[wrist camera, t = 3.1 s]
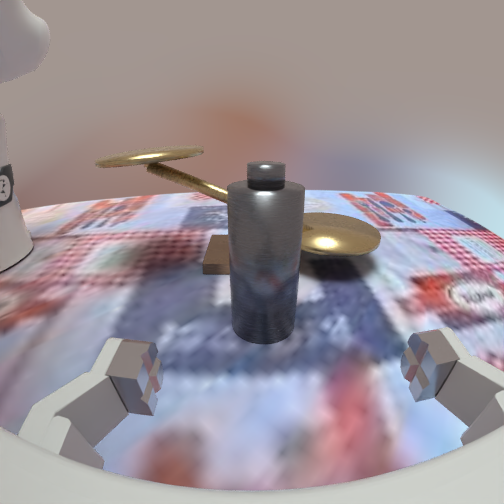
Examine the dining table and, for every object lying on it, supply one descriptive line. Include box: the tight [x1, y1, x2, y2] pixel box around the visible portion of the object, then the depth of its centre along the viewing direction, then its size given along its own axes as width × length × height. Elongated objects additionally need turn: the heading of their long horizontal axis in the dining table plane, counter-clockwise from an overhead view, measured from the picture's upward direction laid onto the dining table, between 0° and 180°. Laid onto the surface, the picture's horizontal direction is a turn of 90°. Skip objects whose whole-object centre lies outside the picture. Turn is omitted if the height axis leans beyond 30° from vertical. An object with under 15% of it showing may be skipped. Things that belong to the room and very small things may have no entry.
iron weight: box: [227, 161, 305, 344], centre depth 20 cm, size 5×5×12 cm
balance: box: [95, 146, 381, 274], centre depth 31 cm, size 32×12×13 cm, turn 90°
